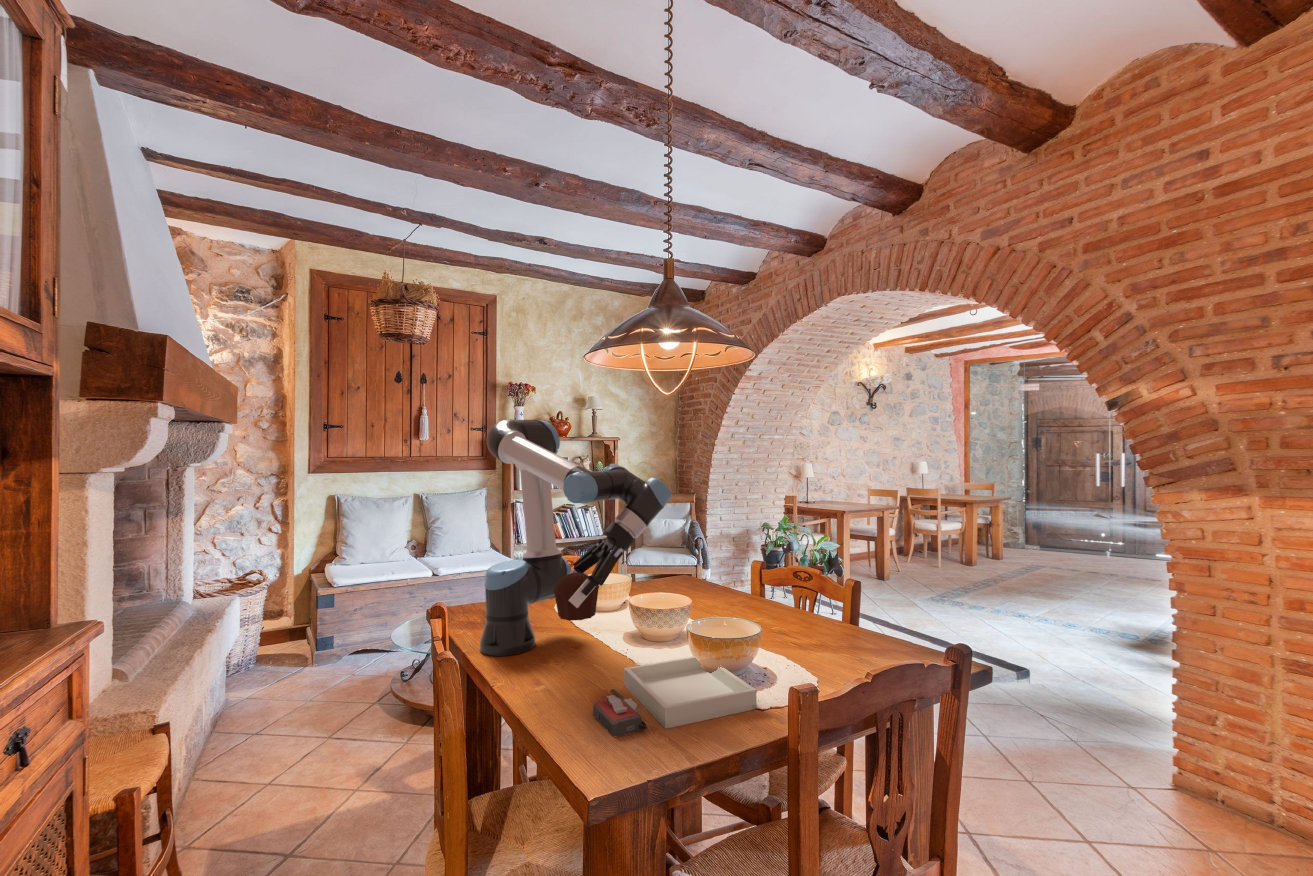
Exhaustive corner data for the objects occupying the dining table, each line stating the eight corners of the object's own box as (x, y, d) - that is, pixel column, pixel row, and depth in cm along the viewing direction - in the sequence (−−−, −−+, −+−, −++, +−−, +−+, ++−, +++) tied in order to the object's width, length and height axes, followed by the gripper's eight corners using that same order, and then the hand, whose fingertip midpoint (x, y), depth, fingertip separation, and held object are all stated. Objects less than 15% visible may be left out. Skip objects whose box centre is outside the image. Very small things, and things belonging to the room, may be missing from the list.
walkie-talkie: (656, 731, 119) (616, 695, 137) (655, 709, 119) (616, 675, 137) (615, 742, 115) (579, 703, 133) (614, 719, 116) (579, 683, 133)
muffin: (597, 621, 142) (596, 579, 142) (550, 623, 142) (549, 580, 142) (601, 608, 154) (600, 568, 154) (557, 609, 154) (556, 569, 154)
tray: (624, 685, 142) (624, 668, 142) (704, 670, 150) (704, 654, 150) (665, 728, 120) (665, 708, 120) (756, 708, 128) (756, 689, 128)
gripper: (652, 547, 143) (591, 620, 137) (619, 533, 165) (564, 596, 159) (631, 526, 141) (567, 600, 135) (600, 515, 163) (544, 578, 157)
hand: (566, 598), depth 147 cm, fingers closed on muffin, 12 cm apart
